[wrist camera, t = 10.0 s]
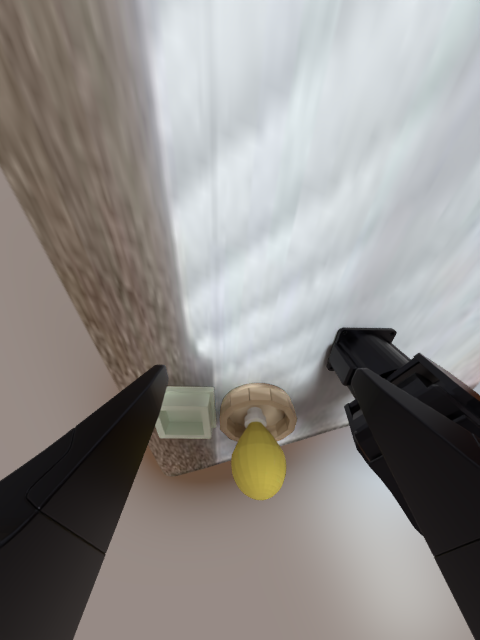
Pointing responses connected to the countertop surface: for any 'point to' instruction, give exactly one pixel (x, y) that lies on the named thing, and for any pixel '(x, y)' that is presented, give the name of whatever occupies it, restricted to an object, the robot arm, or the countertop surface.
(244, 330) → the countertop surface
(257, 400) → the round cradle
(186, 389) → the square socket
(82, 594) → the robot arm
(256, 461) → the light bulb
